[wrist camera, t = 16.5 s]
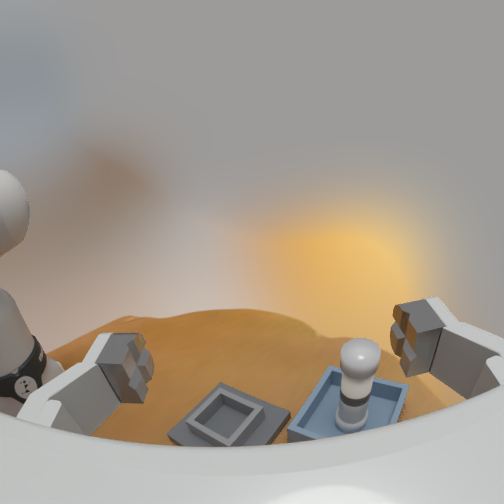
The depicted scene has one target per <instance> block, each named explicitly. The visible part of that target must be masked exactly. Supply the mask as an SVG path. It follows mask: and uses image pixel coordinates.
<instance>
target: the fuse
mask: <svg viewBox="0 0 504 504" xmlns="http://www.w3.org/2000/svg"><path fill="white" fill-rule="evenodd" d="M380 355H381V349H380V347H379V345H378V344H377V343H375V342H374V341H372V340H369V339H365V338H357V339H352V340H350V341H348V342H346V343H345V344H344V345H343V346H342V349H341V358H340V368H341V371H342V380H341V386H340V400H339V406H338V408H337V409H336V415H335V426H336V427H337V429H338V430H339V431H341V432H343V433H346V434H352V433H357V432H359V431H361V430H362V429H363V428H364V427H365V425H366V421H367V417H368V409H367V407H368V403H369V399H370V395H371V390H372V383H373V378H374V374H375V373H376V371H377V370H378V366H379V361H380Z"/></svg>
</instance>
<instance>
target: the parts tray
mask: <svg viewBox="0 0 504 504" xmlns="http://www.w3.org/2000/svg"><path fill="white" fill-rule="evenodd" d="M341 380H342V371H341V368H337V367H333V366H330V365H329V366H328V368H327V370H326V371H325V373H324V374H323V376H322V378H321V379H320V381H319V382H318V384H317V385H316V387H315V388H314V390H313V391H312V393H311V394H310V396H309V397H308V399H307V400H306V402H305V403H304V405H303V406H302V408H301V409H300V411H299V412H298V414H297V415H296V416H295V418H294V419H293V421H292V422H291V424H290V425H289V426H288V428H287V433H288V443H293V442H302V441H310V440H317V439H323V438H330V437H335V436H341V435H346V433H343V432H341V431H339V430H338V429H337V427H336V426H335V415H336V409H337V408H338V406H339V400H340V386H341ZM408 388H409V385H406V384H401V383H397V382H393V381H388V380H384V379H380V378H376V377H374V378H373V383H372V390H371V395H370V399H369V403H368V407H367V409H368V417H367V421H366V425H365V427H364V428H363V429H362V430H361V431H366V430H370V429H375V428H379V427H383V426H387V425H391V424H395V423H397V420H398V417H399V415H400V412H401V409H402V406H403V403H404V400H405V397H406V394H407V391H408ZM361 431H359V432H361Z"/></svg>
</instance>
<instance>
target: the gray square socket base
mask: <svg viewBox="0 0 504 504" xmlns="http://www.w3.org/2000/svg"><path fill="white" fill-rule="evenodd" d="M290 418H291V416H290V411H288V410H285V409H282V408H280V407H277V406H275V405H272V404H270V403H267V402H265V401H262V400H260V399H258V398H255V397H253V396H251V395H248V394H246V393H244V392H241V391H239V390H237V389H235V388H232V387H230V386H228V385H226V384H224V383H221V382H220V383H219V384H218V385H217V386H216V387H215V388H214V389H213V390H212V391H211V392H210V393H209V394H208V395H207V396H206V397H205V398H204V399H203V400H202V401H201V402H200V403H199V404H198V405H197V406H196V407H195V408H194V409H193V410H192V411H191V412H190V413H188V414H187V415H186V416H185V417H184V418H183V419H182V420H181V421H180V422H179V423H178V424H177V425H176V426H175V427H174V428H173V429H171V430H170V431H169V432H168V433H167V436H168V437H169V439H170V440H171V441H173V442H174V443H176V444H177V445H179V446H188V447H239V446H259V445H271V443H272V442H273V441H274V439H275V438H276V437H277V435H278V434H279V433H280V431H281V430H282V429H283V427H284V426H285V425H286V423H287V422H288V420H289V419H290Z"/></svg>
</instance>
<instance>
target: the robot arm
mask: <svg viewBox="0 0 504 504" xmlns="http://www.w3.org/2000/svg"><path fill="white" fill-rule="evenodd" d="M29 216H30V215H29V203H28V199H27V195H26V193H25V190H24V188H23V187H22V185H21V184H20V182H19V181H18V180H17V179H16V178H15V177H14V176H13V175H12V174H10V173H9V172H7V171H3V170H0V257H1V256H2V255H4V254H5V253H7V252H8V251H10V250H11V249H13V248H14V247H15V246H17V245H18V244H20V243H21V242H22V241H23V240H24V237H25V235H26V232H27V229H28V224H29ZM393 317H394V319H395V320H396V321H395V323H394V324H393V325H392V327H391V332H390V339H391V340H390V341H391V346H392V349H393V351H394V353H395V354H396V355H397V356H399V357H401V359H400V365H401V367H402V369H403V371H404V373H405V375H406V377H411V376H415V375H419V374H423V373H427V372H430V374H432V375H433V376H434V377H436V378H437V379H439V380H440V381H441V382H443V383H444V384H446V385H447V386H449V387H450V388H452V389H453V390H454V391H456V392H457V393H459V394H460V395H461V396H463V397H464V398H466V399H467V400H465V401H463V402H460V403H457V404H455V405H452V406H449V407H446V408H444V409H441V410H438V411H435V412H432V413H429V414H426V415H422V416H419V417H416V418H413V419H409V420H406V421H402V422H398V423H395V424H391V425H387V426H383V427H379V428H375V429H370V430H366V431H361V432H357V433H352V434H346V435H341V436H335V437H330V438H323V439H317V440H310V441H302V442H293V443H284V444H273V445H259V446H239V447H188V446H168V445H155V444H144V443H134V442H126V441H119V440H112V439H105V438H99V437H93V436H89V435H90V434H92V433H93V432H94V431H95V430H96V429H97V428H98V427H99V426H100V425H101V424H102V423H103V422H104V421H105V420H106V419H107V418H108V417H109V416H110V415H111V414H112V413H113V412H114V411H115V410H116V409H117V408H118V407H119V406H120V405H121V403H139V404H143V403H144V400H145V397H146V394H147V391H148V387H147V385H146V383H148V382H149V381H150V380H151V379H152V376H153V373H154V363H153V358H152V356H151V354H150V352H149V351H147V350H146V349H145V348H144V346H145V344H146V342H145V339H144V337H143V335H142V334H140V333H101V334H99V335H98V337H97V338H96V340H95V342H94V343H93V345H92V347H91V348H90V350H89V351H88V353H87V355H86V356H85V358H84V360H83V361H82V363H77V364H75V365H74V366H72V367H71V368H69V369H68V370H66V371H65V370H64V369H63V367H62V365H61V364H60V363H59V362H58V361H57V362H56V361H55V360H54V359H52V358H49V357H47V356H46V354H45V353H44V351H43V349H42V346H41V345H40V343H39V342H38V341H37V339H36V337H35V336H33V335H32V334H31V333H30V331H29V329H28V327H27V325H26V323H25V321H24V319H23V317H22V315H21V313H20V311H19V309H18V307H17V305H16V303H15V301H14V299H13V298H12V297H11V295H10V294H8V293H7V292H6V291H5V290H3V289H1V288H0V504H504V339H503V338H500V337H498V336H496V335H493V334H491V333H489V332H486V331H484V330H481V329H479V328H477V327H474V326H472V325H469V324H467V323H464V322H462V323H459V322H458V320H457V319H456V318H455V317H454V315H453V314H452V313H451V312H450V311H449V309H448V308H447V307H446V306H445V305H444V304H443V302H442V301H441V300H440V299H439V298H438V297H436V296H433V297H429V298H425V299H422V300H419V301H413V302H409V303H404V304H398V305H395V307H394V310H393Z"/></svg>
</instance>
